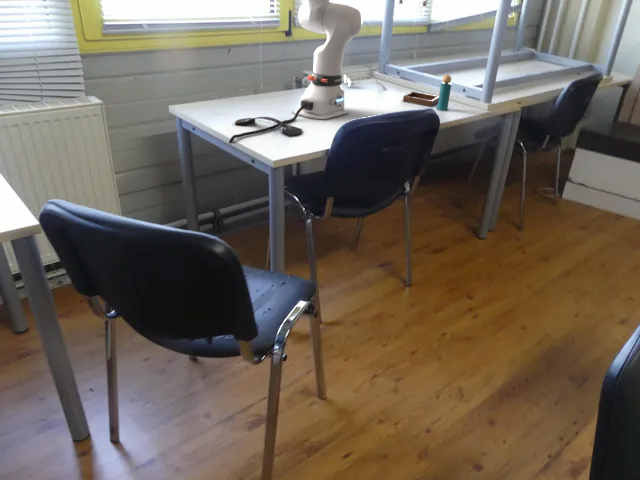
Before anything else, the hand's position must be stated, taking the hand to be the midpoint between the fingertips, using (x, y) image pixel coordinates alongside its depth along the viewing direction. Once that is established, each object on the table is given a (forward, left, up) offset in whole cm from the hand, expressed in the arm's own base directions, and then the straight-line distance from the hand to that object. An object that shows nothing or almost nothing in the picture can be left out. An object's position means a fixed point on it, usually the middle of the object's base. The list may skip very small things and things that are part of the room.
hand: (412, 5), depth 217 cm
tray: (+14, -5, -40) cm, 42 cm away
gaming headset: (-65, +26, -40) cm, 80 cm away
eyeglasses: (+23, +28, -40) cm, 54 cm away
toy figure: (+7, -17, -40) cm, 44 cm away
